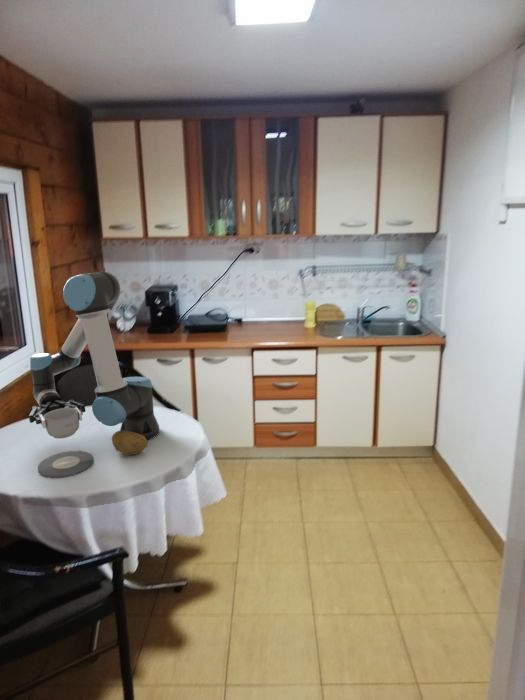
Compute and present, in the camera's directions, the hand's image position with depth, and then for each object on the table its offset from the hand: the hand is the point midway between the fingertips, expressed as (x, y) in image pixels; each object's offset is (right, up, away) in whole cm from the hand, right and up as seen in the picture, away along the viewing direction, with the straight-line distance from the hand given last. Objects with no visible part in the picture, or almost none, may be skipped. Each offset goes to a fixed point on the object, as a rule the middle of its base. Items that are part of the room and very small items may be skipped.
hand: (62, 420), depth 164 cm
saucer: (-2, -16, +8) cm, 18 cm away
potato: (+18, -14, +16) cm, 28 cm away
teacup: (-1, -5, +5) cm, 7 cm away
